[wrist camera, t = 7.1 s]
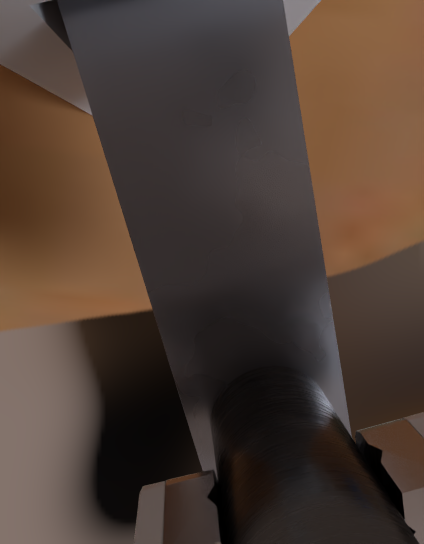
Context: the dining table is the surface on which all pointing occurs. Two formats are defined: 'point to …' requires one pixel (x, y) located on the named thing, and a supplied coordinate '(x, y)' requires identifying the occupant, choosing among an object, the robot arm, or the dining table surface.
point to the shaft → (232, 257)
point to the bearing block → (66, 45)
